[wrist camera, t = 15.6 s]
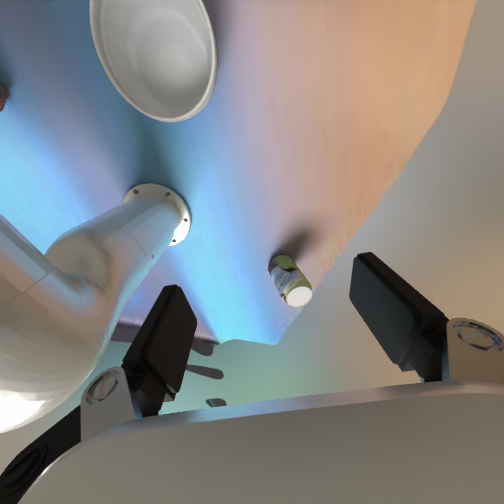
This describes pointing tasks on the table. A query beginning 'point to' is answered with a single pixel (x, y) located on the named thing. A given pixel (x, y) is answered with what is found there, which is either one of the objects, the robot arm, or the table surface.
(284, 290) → the beverage can
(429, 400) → the robot arm
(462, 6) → the table surface
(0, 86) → the tin
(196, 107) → the ramekin
